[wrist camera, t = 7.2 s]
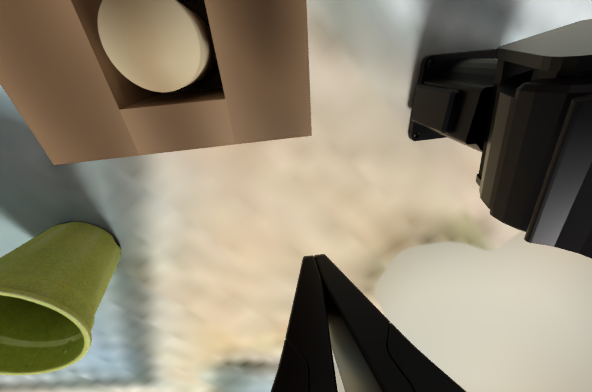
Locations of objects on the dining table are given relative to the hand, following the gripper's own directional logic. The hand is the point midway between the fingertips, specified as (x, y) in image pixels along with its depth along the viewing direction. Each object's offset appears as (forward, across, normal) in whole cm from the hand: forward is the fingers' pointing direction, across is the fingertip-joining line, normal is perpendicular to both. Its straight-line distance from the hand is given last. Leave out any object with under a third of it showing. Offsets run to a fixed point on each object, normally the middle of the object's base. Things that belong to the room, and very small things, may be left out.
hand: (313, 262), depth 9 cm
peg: (+13, +6, -8) cm, 16 cm away
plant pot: (+13, +19, +8) cm, 25 cm away
